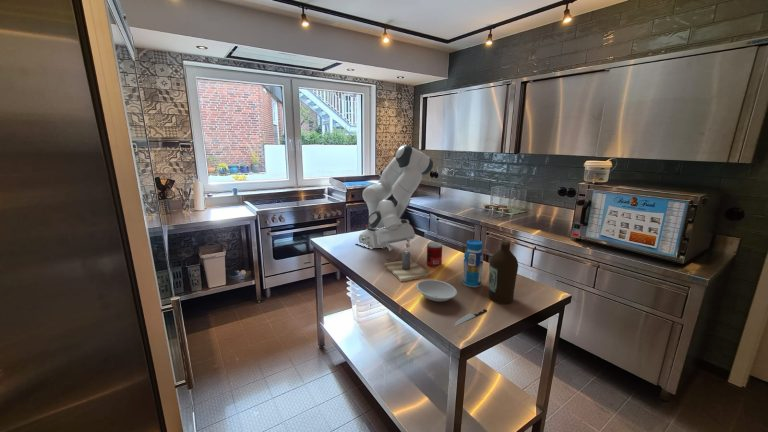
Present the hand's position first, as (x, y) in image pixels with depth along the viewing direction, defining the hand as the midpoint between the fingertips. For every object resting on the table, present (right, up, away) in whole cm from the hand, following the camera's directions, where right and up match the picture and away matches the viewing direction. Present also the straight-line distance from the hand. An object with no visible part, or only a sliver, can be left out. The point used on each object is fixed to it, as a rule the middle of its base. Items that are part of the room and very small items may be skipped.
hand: (399, 248), depth 154 cm
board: (+3, -11, -4) cm, 12 cm away
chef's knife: (+22, -21, -44) cm, 54 cm away
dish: (+13, -18, -31) cm, 38 cm away
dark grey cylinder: (+3, -9, -4) cm, 11 cm away
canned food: (+18, -9, +5) cm, 21 cm away
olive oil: (+40, -17, -31) cm, 53 cm away
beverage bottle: (+32, -14, -18) cm, 39 cm away
